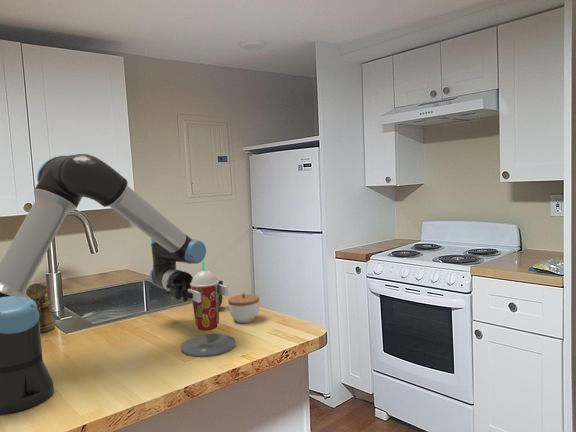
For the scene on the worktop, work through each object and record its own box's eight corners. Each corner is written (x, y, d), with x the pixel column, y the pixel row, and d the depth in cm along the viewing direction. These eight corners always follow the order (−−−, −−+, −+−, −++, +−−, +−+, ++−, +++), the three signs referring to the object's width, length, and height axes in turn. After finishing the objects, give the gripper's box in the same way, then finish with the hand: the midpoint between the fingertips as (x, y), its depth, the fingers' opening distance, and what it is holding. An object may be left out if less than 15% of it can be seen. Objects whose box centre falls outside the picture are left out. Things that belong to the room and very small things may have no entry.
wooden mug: (25, 340, 152) (19, 285, 150) (26, 328, 164) (21, 278, 162) (55, 334, 156) (50, 281, 154) (54, 323, 168) (49, 274, 166)
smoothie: (226, 323, 141) (222, 258, 139) (214, 333, 133) (210, 264, 131) (201, 322, 143) (196, 258, 141) (188, 332, 135) (183, 264, 133)
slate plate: (236, 353, 132) (236, 350, 132) (178, 359, 129) (178, 356, 129) (234, 334, 148) (234, 331, 147) (183, 339, 145) (182, 336, 145)
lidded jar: (230, 326, 156) (228, 299, 155) (228, 317, 166) (226, 291, 165) (262, 323, 158) (260, 296, 157) (258, 314, 168) (256, 288, 167)
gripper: (207, 287, 158) (244, 299, 140) (147, 300, 145) (180, 315, 127) (206, 265, 157) (243, 275, 139) (146, 276, 144) (178, 288, 126)
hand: (213, 294), depth 133 cm, fingers closed on smoothie, 8 cm apart
